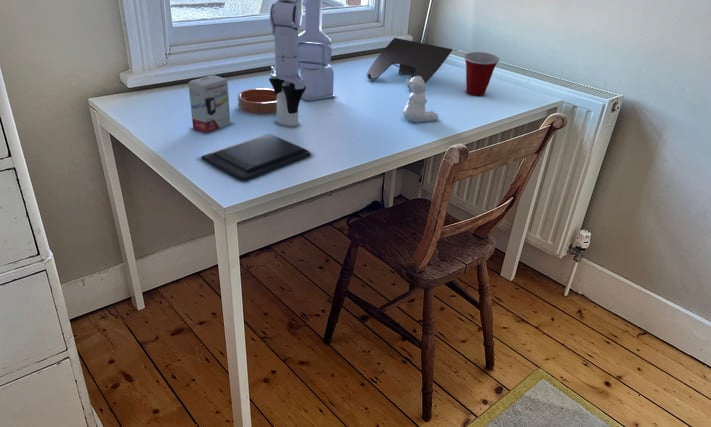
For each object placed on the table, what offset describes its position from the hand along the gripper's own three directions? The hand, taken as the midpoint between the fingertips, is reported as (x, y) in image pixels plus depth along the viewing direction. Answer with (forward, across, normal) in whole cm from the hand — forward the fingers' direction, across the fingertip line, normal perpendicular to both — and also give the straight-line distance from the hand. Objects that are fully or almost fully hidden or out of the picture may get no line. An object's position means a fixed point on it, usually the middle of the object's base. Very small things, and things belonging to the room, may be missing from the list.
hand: (287, 109), depth 130 cm
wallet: (+4, +16, -15) cm, 22 cm away
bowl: (+4, -14, -1) cm, 15 cm away
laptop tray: (+4, -21, +54) cm, 58 cm away
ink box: (+4, -6, -18) cm, 19 cm away
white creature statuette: (+4, +11, +34) cm, 36 cm away
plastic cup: (+4, 0, +67) cm, 67 cm away
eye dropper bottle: (+4, 0, 0) cm, 4 cm away
